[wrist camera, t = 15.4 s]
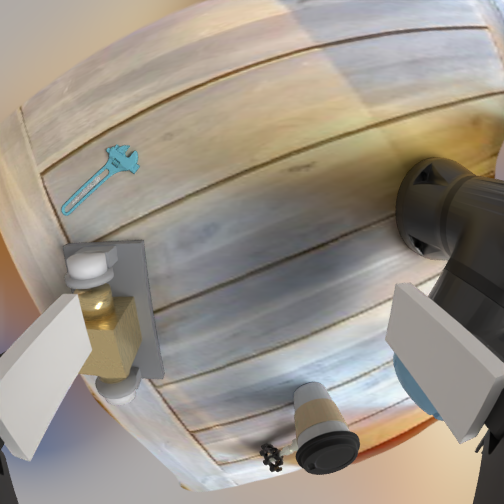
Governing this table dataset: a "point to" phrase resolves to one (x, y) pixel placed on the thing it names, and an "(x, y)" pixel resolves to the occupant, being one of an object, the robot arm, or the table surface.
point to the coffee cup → (321, 432)
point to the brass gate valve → (109, 333)
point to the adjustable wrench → (121, 164)
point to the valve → (276, 455)
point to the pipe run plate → (122, 285)
